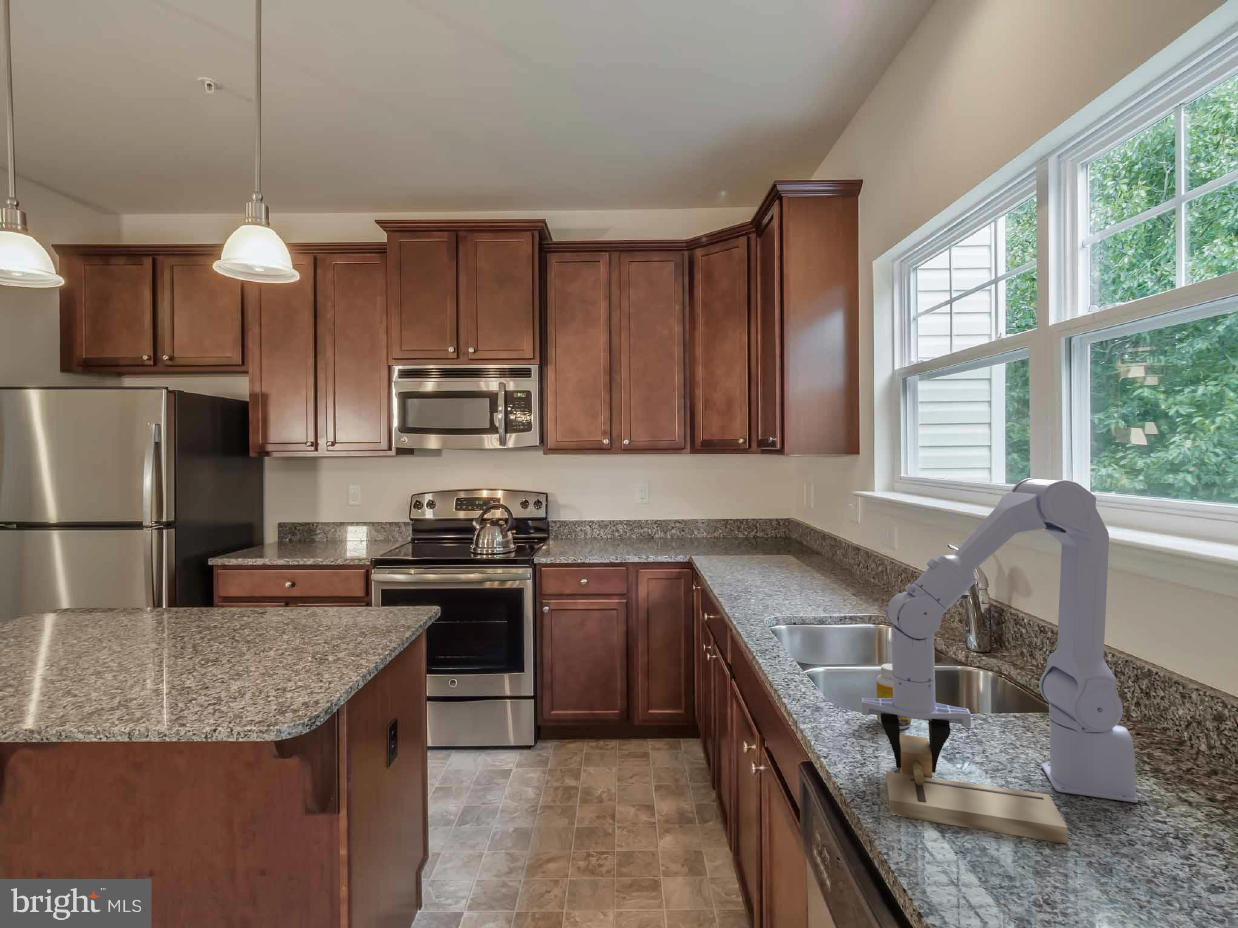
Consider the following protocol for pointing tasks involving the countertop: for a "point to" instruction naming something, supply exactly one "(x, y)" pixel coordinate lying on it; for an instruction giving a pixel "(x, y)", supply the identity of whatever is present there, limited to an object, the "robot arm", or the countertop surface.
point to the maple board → (976, 807)
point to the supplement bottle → (888, 691)
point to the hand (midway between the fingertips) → (915, 767)
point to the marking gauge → (915, 757)
